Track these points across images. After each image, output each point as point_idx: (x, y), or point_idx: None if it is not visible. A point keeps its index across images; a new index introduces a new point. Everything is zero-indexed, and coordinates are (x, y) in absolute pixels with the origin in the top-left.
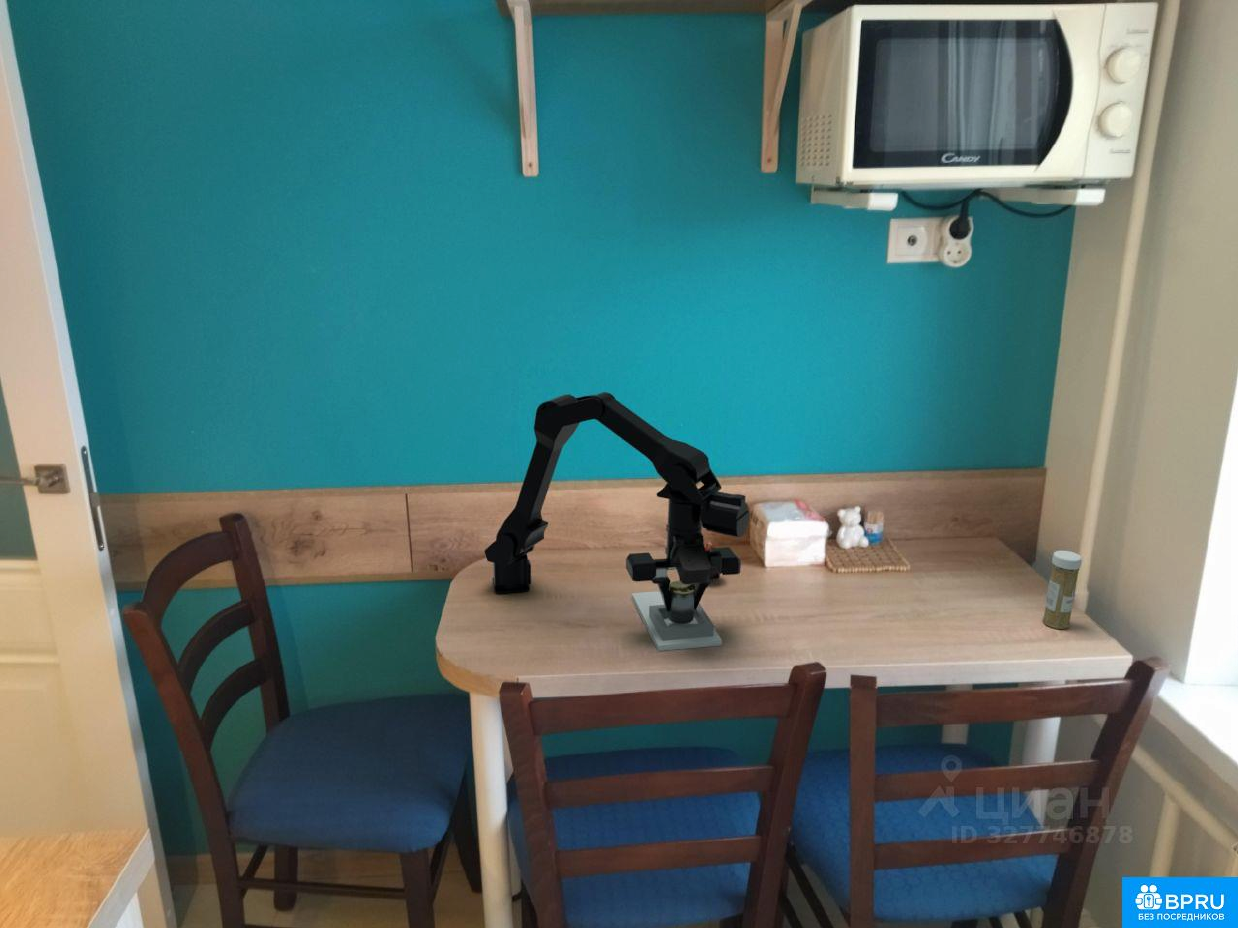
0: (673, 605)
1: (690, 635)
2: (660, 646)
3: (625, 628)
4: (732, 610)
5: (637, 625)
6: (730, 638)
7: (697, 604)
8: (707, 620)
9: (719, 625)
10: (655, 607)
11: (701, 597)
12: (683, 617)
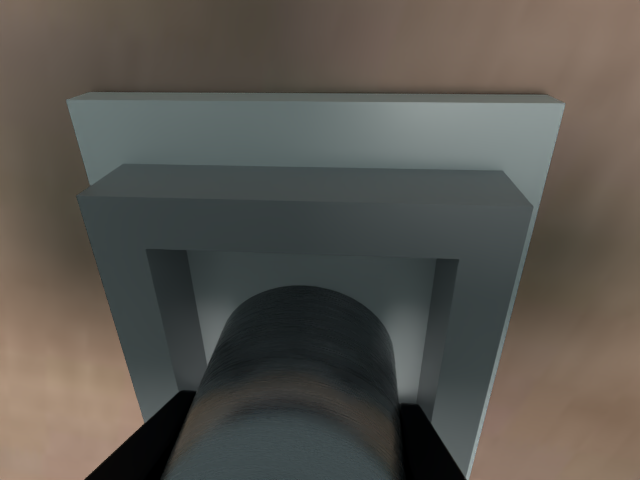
0: (386, 435)
1: (285, 174)
2: (542, 102)
3: (597, 375)
4: (24, 409)
5: (519, 387)
6: (31, 168)
7: (156, 419)
8: (124, 277)
9: (91, 309)
10: None
11: (86, 477)
12: (306, 319)
